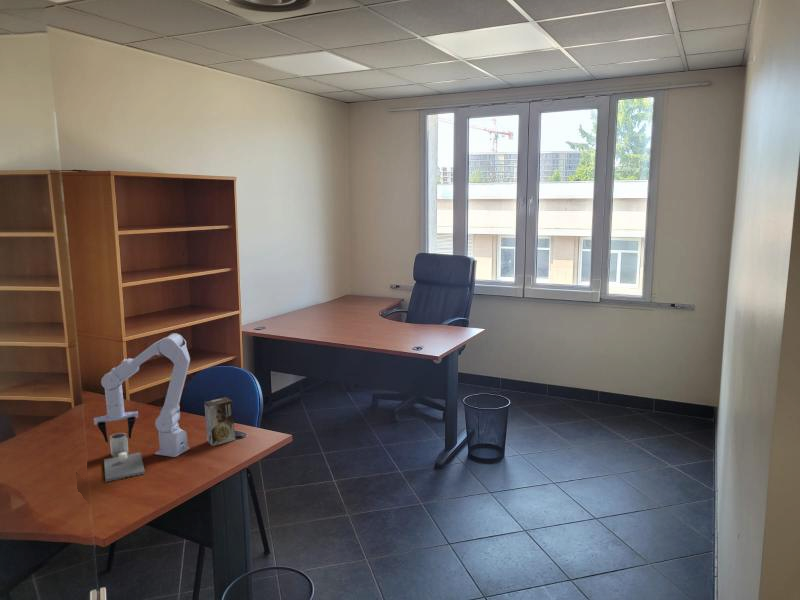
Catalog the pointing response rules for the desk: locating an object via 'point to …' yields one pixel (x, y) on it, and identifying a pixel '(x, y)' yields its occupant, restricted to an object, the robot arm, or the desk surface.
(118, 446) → the collar
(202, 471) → the desk surface
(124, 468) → the duct board
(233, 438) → the coffee box
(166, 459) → the desk surface
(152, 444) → the desk surface
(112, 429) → the desk surface
